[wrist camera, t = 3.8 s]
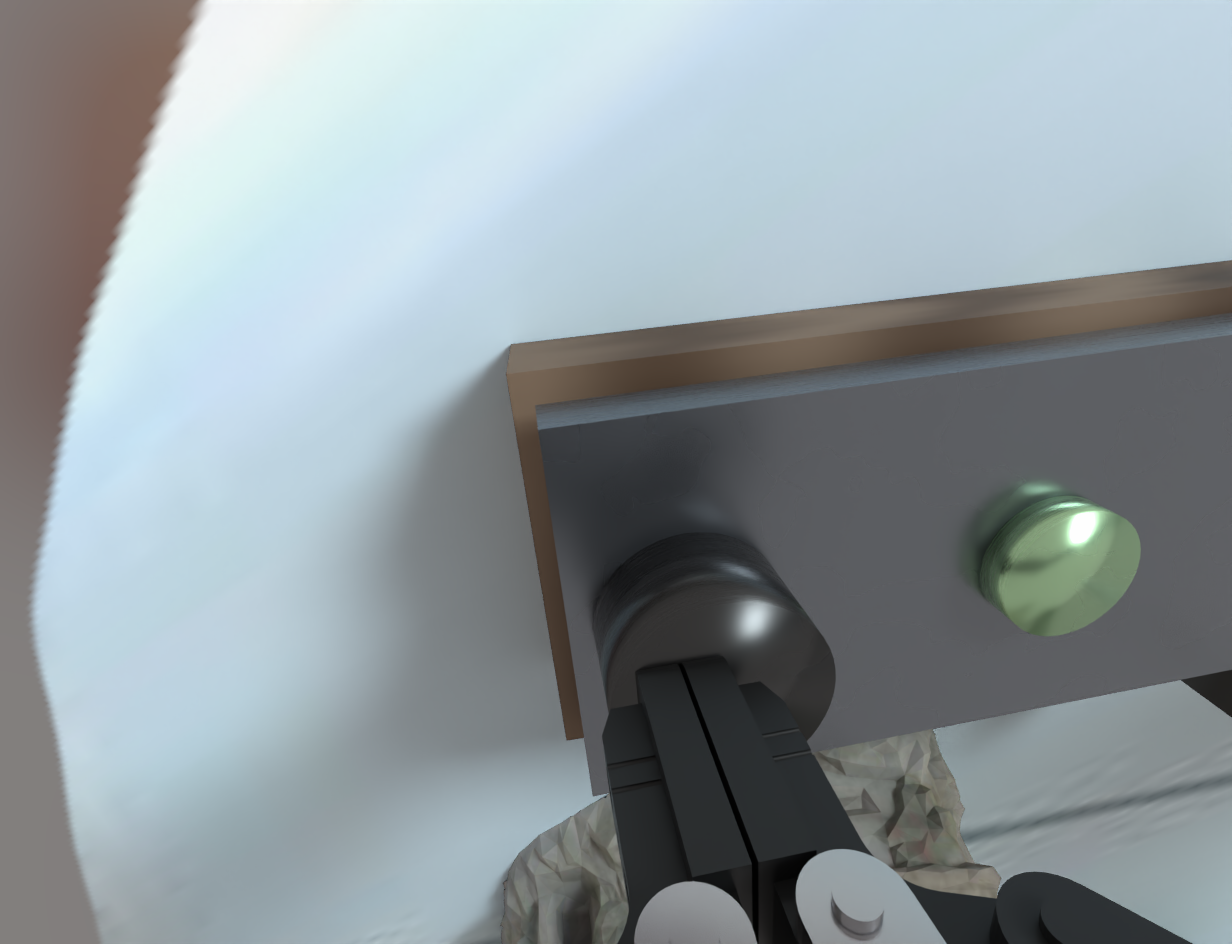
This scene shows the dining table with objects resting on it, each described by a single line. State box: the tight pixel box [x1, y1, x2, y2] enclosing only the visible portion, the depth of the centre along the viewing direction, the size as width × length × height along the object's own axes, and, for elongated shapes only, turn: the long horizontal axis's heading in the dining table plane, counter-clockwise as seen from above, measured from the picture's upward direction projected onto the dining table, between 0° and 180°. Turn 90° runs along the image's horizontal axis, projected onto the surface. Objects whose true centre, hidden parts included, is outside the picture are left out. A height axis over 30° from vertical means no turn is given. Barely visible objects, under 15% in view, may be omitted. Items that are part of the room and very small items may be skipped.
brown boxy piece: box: [506, 260, 1232, 740], centre depth 16 cm, size 20×13×5 cm, turn 95°
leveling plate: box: [535, 313, 1232, 796], centre depth 13 cm, size 18×9×4 cm, turn 95°
